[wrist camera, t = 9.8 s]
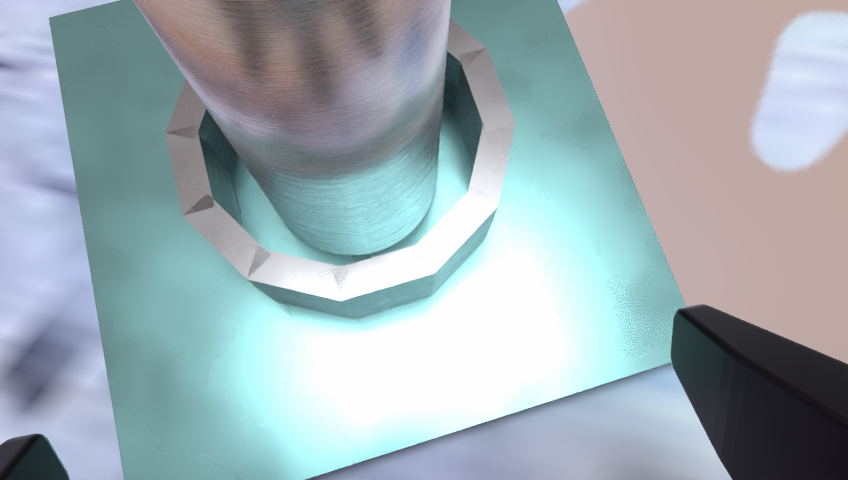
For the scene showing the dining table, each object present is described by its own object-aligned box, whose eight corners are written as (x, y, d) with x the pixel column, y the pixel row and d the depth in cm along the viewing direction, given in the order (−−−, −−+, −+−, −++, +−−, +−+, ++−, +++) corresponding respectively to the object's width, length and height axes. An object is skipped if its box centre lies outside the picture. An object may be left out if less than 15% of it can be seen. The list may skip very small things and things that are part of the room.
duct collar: (689, 354, 18) (763, 338, 14) (150, 527, 17) (69, 562, 13) (512, -75, 22) (531, -177, 18) (65, 36, 21) (-14, -50, 17)
